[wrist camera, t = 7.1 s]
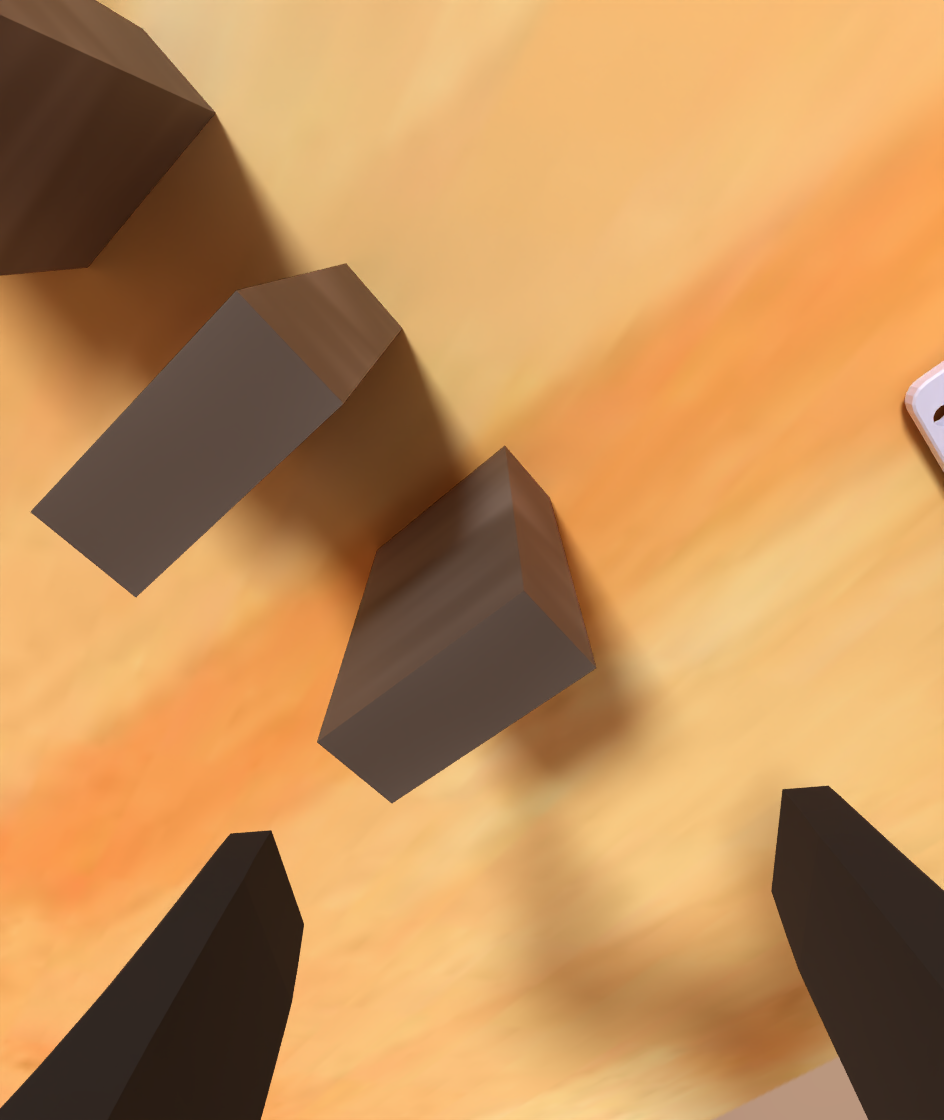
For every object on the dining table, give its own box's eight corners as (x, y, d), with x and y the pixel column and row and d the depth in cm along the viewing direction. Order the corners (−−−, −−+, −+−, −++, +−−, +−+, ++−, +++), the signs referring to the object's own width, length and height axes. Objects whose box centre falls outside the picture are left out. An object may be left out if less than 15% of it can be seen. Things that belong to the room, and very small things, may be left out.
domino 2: (402, 328, 15) (343, 403, 9) (274, 449, 17) (136, 597, 10) (345, 263, 15) (236, 290, 8) (217, 394, 16) (30, 511, 9)
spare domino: (549, 497, 17) (596, 667, 10) (422, 595, 18) (391, 803, 12) (504, 445, 17) (523, 590, 10) (377, 550, 18) (317, 742, 11)
